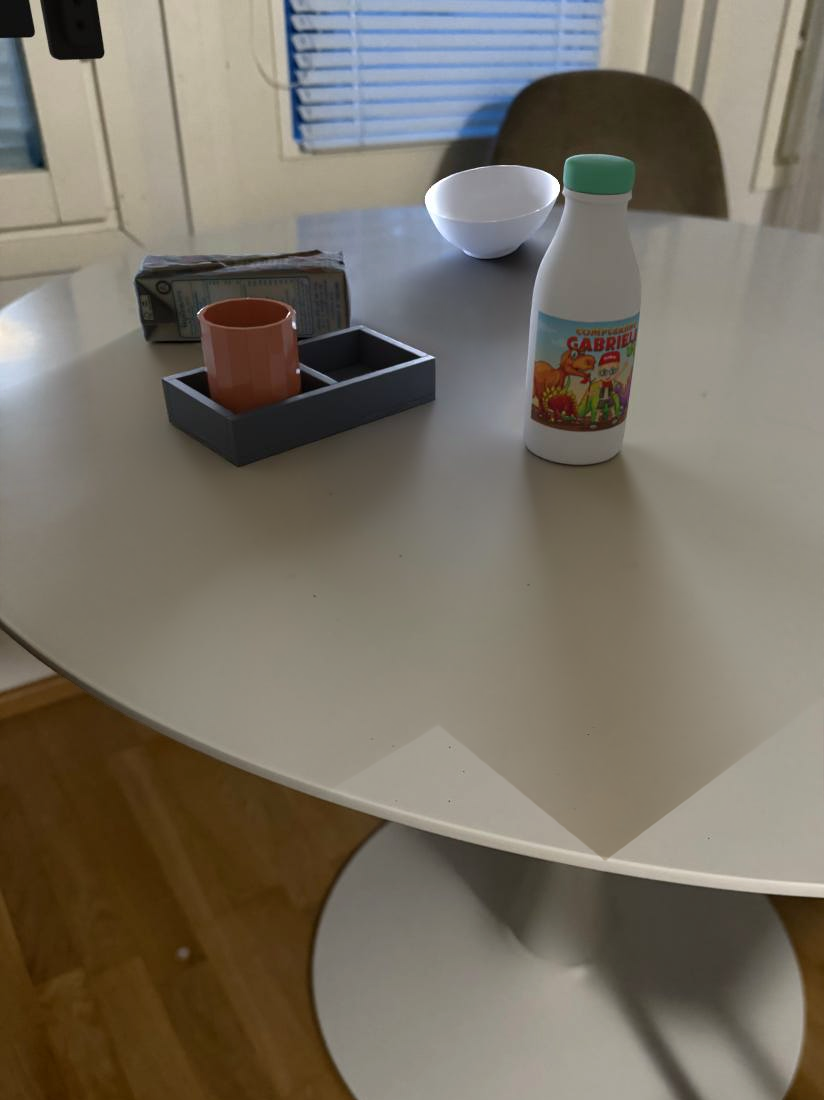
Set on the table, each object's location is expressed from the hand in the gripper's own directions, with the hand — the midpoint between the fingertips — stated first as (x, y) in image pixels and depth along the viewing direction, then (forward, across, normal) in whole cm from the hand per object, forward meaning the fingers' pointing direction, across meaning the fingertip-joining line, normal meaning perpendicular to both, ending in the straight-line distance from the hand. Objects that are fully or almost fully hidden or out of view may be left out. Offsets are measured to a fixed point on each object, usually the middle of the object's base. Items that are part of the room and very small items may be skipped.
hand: (43, 47), depth 60 cm
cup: (+24, +9, +8) cm, 27 cm away
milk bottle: (+24, +27, +24) cm, 44 cm away
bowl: (+24, -17, +58) cm, 65 cm away
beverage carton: (+25, -10, +19) cm, 33 cm away
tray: (+24, +9, +12) cm, 29 cm away
